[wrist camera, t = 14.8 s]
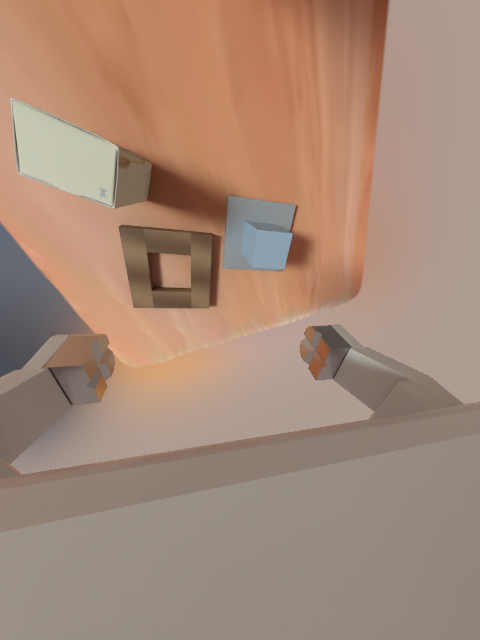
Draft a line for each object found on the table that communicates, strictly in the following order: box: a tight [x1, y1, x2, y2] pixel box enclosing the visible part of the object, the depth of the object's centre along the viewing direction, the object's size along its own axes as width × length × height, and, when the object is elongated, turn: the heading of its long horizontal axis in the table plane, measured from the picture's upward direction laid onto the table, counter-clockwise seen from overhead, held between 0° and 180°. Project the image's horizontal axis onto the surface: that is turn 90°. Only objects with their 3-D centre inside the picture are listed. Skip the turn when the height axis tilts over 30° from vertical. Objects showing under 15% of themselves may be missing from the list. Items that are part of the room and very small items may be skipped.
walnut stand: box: [119, 225, 212, 308], centre depth 31 cm, size 12×12×2 cm
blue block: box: [241, 221, 293, 269], centre depth 28 cm, size 4×4×7 cm
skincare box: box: [10, 98, 152, 209], centre depth 19 cm, size 6×4×12 cm
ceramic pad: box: [223, 196, 296, 271], centre depth 31 cm, size 10×10×1 cm
